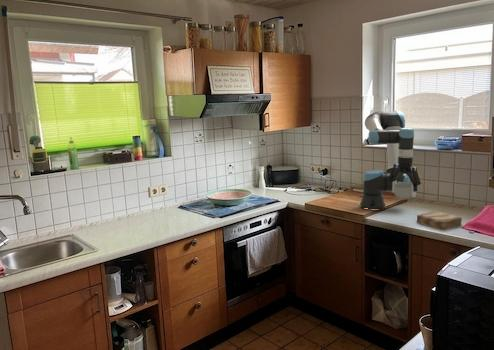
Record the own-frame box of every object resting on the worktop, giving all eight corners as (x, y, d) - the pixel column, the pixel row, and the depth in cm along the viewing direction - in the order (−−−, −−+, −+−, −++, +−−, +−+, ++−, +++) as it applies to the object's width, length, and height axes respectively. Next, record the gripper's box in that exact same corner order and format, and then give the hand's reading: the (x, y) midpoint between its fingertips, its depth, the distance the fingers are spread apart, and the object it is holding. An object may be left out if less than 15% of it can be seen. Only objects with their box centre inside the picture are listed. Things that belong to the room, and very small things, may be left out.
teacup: (415, 200, 223) (416, 186, 221) (394, 200, 225) (395, 186, 224) (411, 194, 236) (411, 180, 235) (391, 194, 239) (391, 180, 237)
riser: (416, 222, 228) (417, 214, 227) (435, 217, 235) (435, 210, 234) (442, 229, 214) (443, 221, 213) (461, 224, 221) (461, 217, 220)
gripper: (383, 154, 235) (382, 191, 239) (419, 160, 213) (417, 200, 218) (392, 153, 238) (391, 189, 242) (429, 158, 217) (427, 198, 221)
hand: (403, 194), depth 230 cm, fingers closed on teacup, 12 cm apart
